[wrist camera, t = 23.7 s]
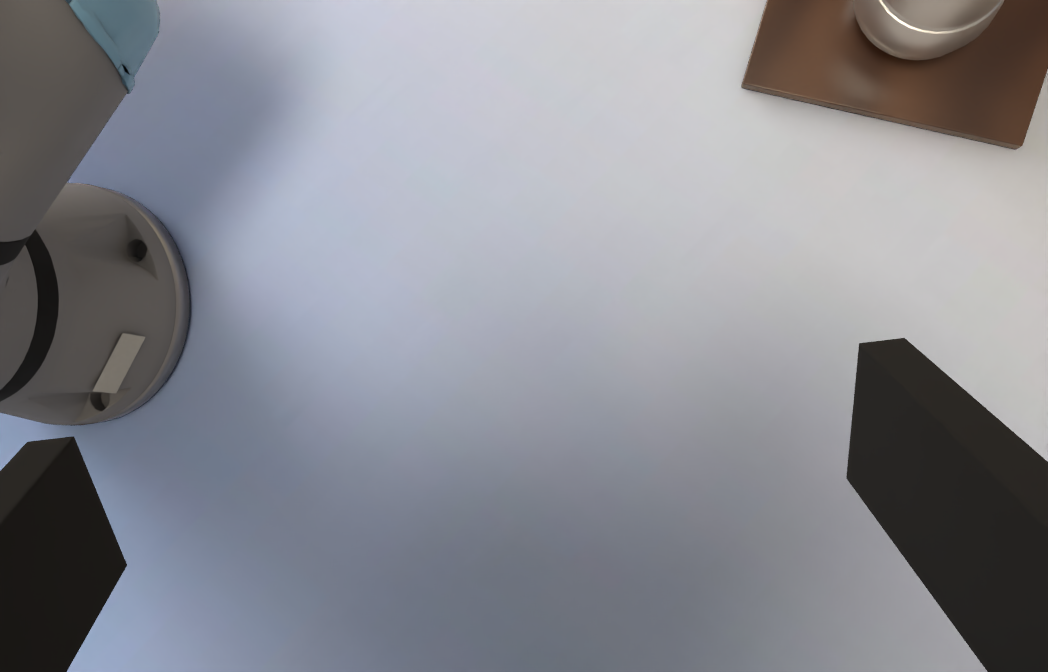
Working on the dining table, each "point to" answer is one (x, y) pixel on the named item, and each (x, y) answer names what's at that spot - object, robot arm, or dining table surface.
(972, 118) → the walnut board
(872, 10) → the silver metal bottle
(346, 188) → the dining table surface
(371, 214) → the dining table surface
